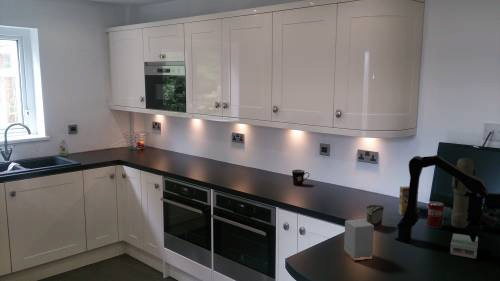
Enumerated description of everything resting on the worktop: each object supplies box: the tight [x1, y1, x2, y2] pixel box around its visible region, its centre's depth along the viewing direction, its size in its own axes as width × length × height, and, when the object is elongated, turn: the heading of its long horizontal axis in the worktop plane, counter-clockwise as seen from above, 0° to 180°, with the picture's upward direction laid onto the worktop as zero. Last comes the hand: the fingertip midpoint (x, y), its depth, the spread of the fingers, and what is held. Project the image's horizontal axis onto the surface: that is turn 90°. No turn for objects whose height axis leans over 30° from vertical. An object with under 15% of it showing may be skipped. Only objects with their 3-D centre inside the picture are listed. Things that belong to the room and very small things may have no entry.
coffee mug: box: [291, 169, 310, 187], centre depth 299 cm, size 12×9×10 cm
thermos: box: [450, 157, 477, 229], centre depth 218 cm, size 9×12×35 cm
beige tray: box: [449, 245, 478, 260], centre depth 189 cm, size 10×13×3 cm
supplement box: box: [343, 218, 375, 258], centre depth 182 cm, size 9×9×15 cm
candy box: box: [398, 186, 419, 216], centre depth 237 cm, size 9×4×15 cm, turn 92°
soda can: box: [426, 201, 445, 229], centre depth 219 cm, size 7×7×12 cm
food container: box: [364, 204, 385, 229], centre depth 219 cm, size 12×6×10 cm, turn 134°
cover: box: [450, 233, 479, 252], centre depth 188 cm, size 10×14×2 cm
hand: (473, 241), depth 186 cm, fingers closed, pressing on cover
